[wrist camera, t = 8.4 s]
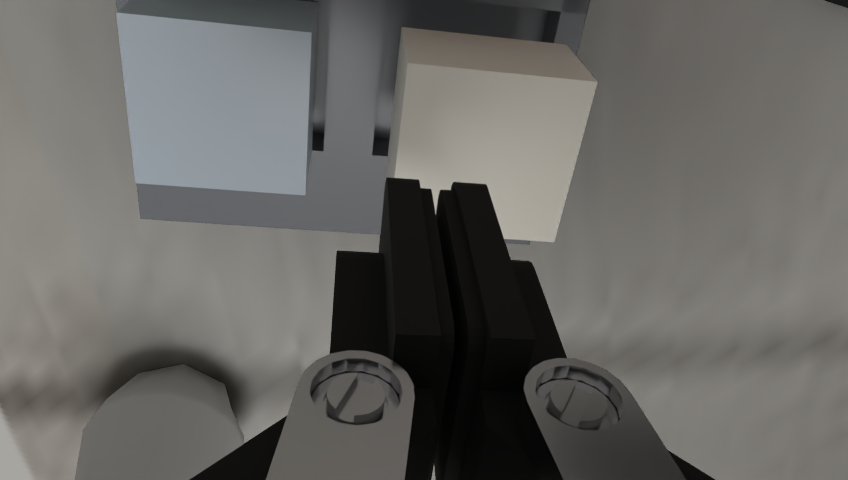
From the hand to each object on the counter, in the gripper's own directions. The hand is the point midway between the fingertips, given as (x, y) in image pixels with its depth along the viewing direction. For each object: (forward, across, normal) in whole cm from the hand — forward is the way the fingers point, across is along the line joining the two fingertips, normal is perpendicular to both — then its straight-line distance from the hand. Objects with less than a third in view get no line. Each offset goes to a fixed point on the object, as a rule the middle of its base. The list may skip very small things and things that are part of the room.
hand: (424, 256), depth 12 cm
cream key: (+8, -2, 0) cm, 8 cm away
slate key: (+9, +4, 0) cm, 10 cm away
